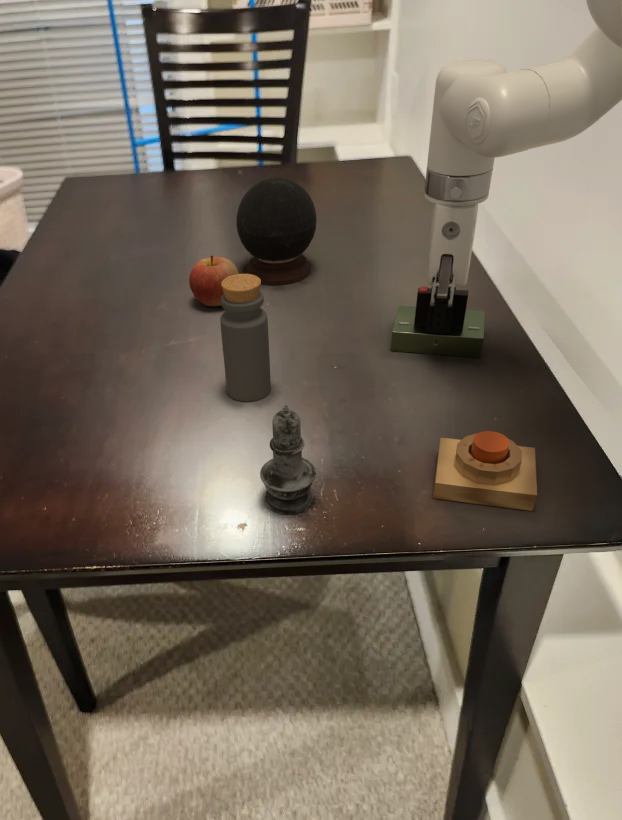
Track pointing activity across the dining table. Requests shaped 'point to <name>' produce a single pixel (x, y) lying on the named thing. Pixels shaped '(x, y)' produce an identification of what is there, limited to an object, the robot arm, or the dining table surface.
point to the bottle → (245, 338)
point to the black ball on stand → (277, 230)
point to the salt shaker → (287, 467)
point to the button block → (485, 476)
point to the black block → (425, 298)
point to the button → (490, 447)
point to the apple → (210, 279)
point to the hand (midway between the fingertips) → (438, 321)
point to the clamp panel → (438, 335)
